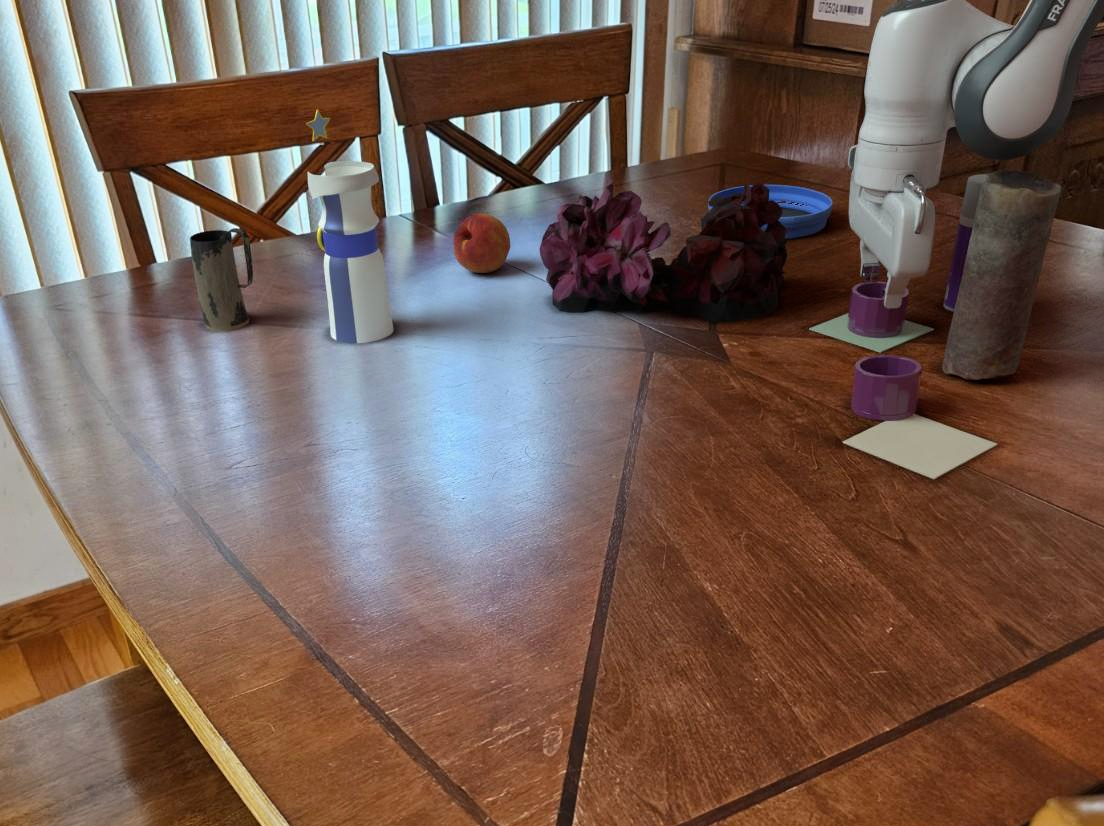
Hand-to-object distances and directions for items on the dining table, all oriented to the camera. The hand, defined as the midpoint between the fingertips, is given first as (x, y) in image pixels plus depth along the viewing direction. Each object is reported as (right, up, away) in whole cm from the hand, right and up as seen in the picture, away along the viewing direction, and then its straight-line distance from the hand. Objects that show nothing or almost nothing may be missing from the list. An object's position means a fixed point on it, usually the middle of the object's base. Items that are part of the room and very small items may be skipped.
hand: (879, 292), depth 125 cm
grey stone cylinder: (+8, -11, -8) cm, 16 cm away
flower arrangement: (-23, +2, +14) cm, 27 cm away
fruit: (-46, +10, +27) cm, 54 cm away
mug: (-77, -1, +13) cm, 78 cm away
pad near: (-4, -21, -22) cm, 30 cm away
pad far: (0, -4, +3) cm, 5 cm away
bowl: (-3, +21, +40) cm, 45 cm away
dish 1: (0, -4, +2) cm, 4 cm away
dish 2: (-5, -16, -15) cm, 22 cm away
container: (+13, 0, +8) cm, 15 cm away
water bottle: (-61, -3, +9) cm, 61 cm away
